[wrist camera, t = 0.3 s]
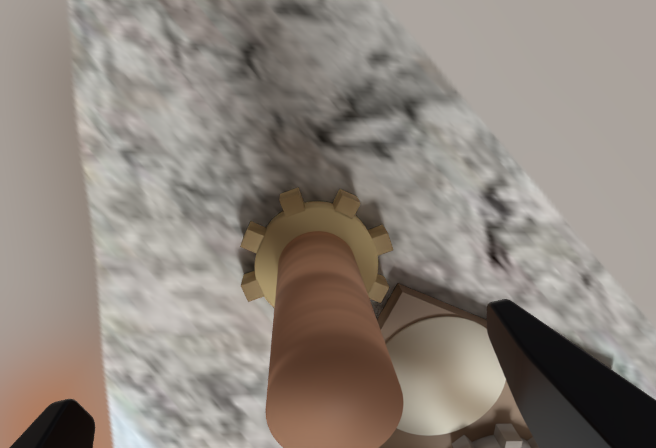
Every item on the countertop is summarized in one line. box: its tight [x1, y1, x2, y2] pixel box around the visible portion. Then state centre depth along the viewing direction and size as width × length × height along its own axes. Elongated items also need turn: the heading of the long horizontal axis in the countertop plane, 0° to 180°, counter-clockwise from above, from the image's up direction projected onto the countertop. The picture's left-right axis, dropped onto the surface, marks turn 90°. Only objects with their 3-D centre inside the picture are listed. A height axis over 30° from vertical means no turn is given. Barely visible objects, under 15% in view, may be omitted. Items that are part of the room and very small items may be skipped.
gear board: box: [377, 283, 539, 448], centre depth 28 cm, size 15×17×4 cm
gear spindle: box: [240, 188, 404, 448], centre depth 19 cm, size 9×9×12 cm
